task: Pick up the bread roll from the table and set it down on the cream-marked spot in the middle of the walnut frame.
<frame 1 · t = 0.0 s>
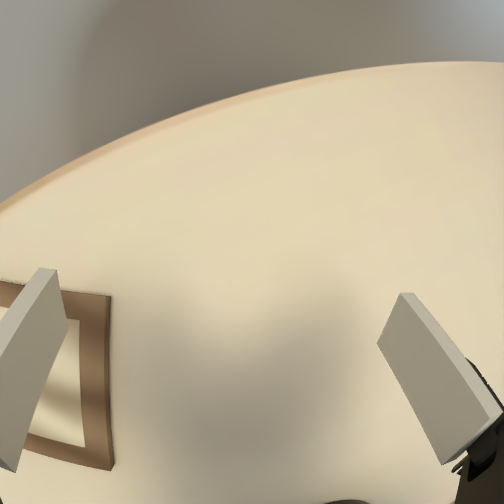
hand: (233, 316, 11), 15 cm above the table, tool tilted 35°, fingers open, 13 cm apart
walnut frame: (31, 372, 22), on the table
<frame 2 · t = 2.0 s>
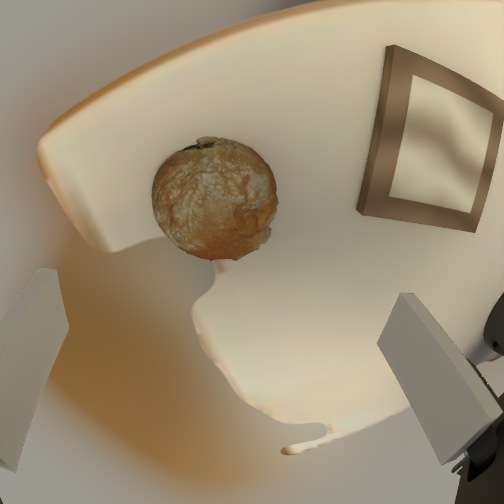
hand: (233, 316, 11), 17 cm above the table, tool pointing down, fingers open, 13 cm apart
walnut frame: (439, 146, 26), on the table
bread roll: (217, 194, 27), on the table
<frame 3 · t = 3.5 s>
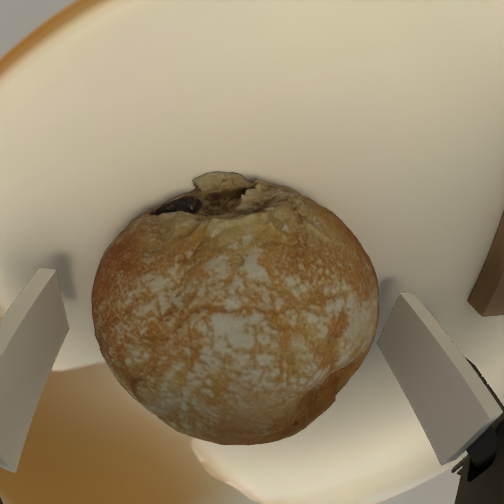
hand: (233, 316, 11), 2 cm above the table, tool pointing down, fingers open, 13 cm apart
bread roll: (239, 294, 13), on the table
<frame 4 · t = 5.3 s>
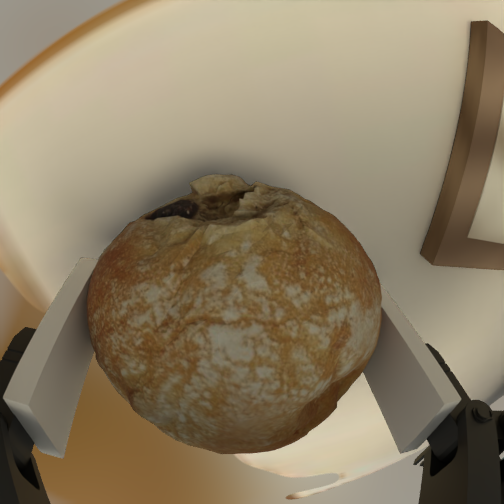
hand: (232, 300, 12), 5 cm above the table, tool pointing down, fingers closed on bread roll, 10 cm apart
bread roll: (238, 298, 13), point 4 cm above the table, touching gripper
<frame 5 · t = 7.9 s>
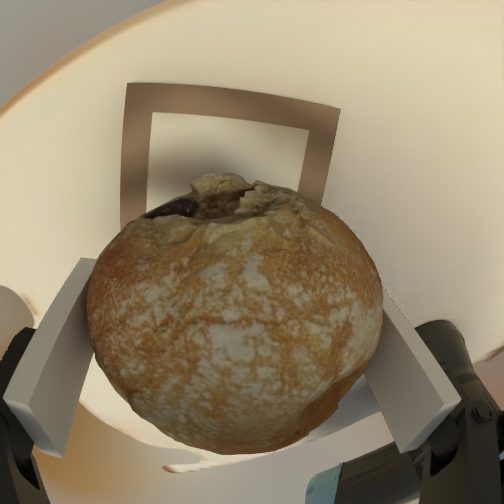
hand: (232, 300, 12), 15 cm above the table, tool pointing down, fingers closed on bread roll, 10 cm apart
walnut frame: (221, 188, 25), on the table
bread roll: (238, 298, 13), point 15 cm above the table, touching gripper
when the fingers open (3 cm above the table, at t = 10.6 s): bread roll stays where it is, resting on walnut frame.
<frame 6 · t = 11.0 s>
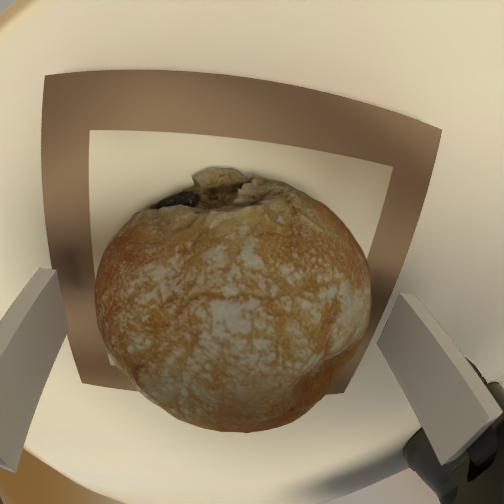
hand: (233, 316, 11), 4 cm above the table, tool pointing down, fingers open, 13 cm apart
walnut frame: (228, 263, 15), on the table
bread roll: (237, 286, 13), point 1 cm above the table, touching walnut frame
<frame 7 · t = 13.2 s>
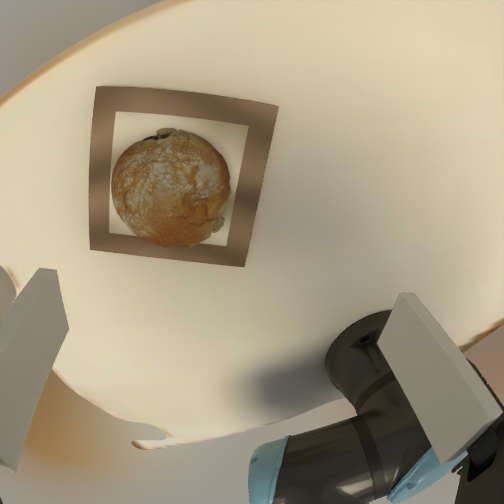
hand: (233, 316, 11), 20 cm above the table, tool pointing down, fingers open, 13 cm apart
walnut frame: (174, 176, 28), on the table
bread roll: (175, 183, 27), point 1 cm above the table, touching walnut frame
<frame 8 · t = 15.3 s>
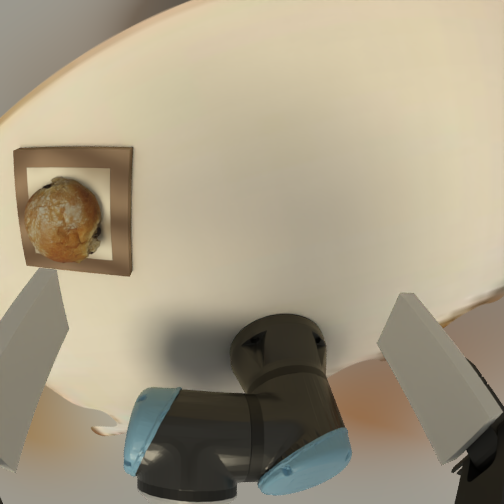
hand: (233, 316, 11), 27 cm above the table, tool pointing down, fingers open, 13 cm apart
walnut frame: (72, 209, 35), on the table
bread roll: (70, 216, 34), point 1 cm above the table, touching walnut frame
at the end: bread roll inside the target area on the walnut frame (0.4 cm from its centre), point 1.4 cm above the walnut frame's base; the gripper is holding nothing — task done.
